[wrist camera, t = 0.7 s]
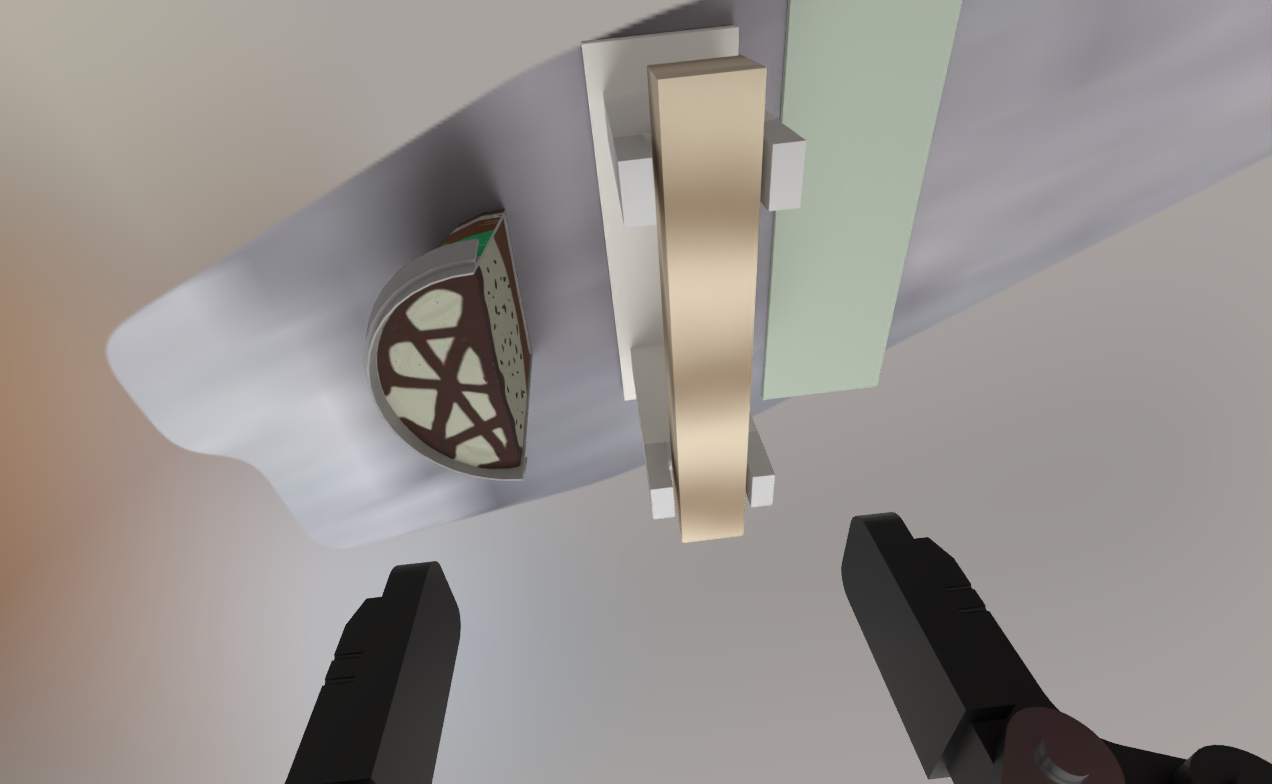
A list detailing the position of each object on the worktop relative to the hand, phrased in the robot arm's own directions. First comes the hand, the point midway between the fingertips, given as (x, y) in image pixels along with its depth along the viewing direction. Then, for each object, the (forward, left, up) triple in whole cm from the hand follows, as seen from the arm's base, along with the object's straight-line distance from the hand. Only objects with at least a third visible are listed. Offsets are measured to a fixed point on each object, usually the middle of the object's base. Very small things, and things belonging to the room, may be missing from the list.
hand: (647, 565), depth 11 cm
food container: (+5, -9, -24) cm, 26 cm away
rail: (+3, +3, -13) cm, 14 cm away
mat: (+3, +13, -23) cm, 27 cm away
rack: (+3, +3, -23) cm, 24 cm away
